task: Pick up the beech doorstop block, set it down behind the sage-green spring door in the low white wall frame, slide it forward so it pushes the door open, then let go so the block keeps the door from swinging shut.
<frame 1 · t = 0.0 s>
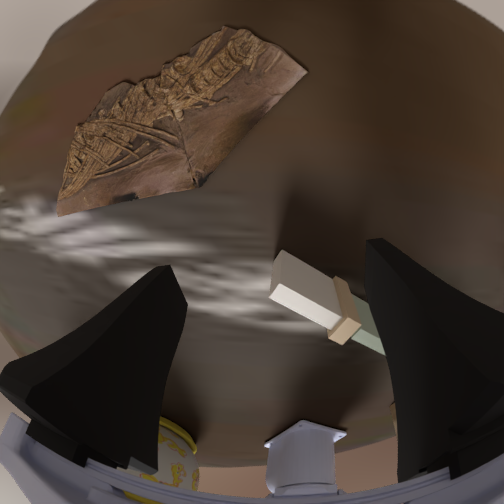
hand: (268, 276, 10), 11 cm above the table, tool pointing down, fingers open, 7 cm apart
door: (395, 334, 19), point 3 cm above the table, hinge at 0.0°
wall frame: (384, 318, 22), on the table
wooden fragment: (147, 137, 19), on the table
flowerpot: (157, 429, 36), on the table
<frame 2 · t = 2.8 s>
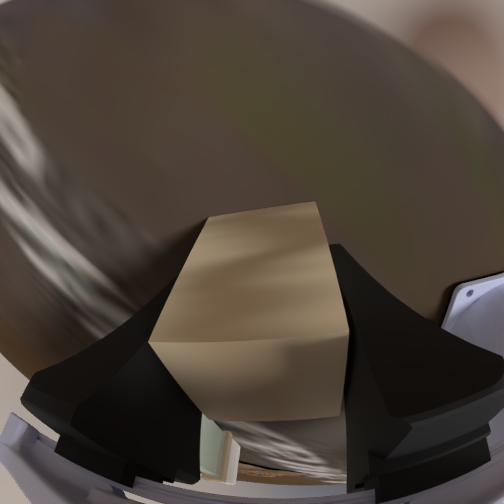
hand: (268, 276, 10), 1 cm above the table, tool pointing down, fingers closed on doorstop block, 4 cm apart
door: (190, 435, 17), point 3 cm above the table, hinge at 0.0°
wall frame: (200, 407, 19), on the table
doorstop block: (270, 254, 11), on the table, touching gripper
wooden fragment: (239, 464, 33), on the table
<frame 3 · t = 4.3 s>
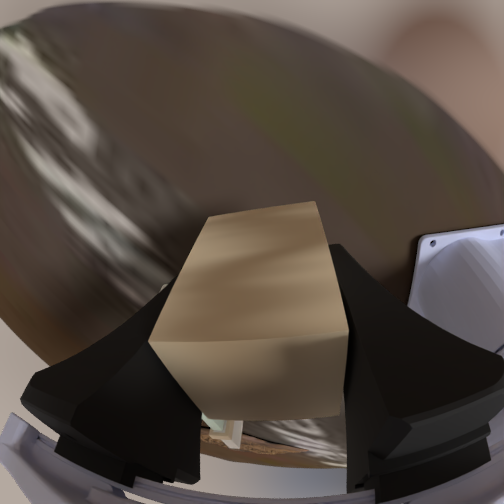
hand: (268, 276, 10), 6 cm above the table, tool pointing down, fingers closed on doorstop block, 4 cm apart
door: (201, 386, 21), point 3 cm above the table, hinge at 0.0°
wall frame: (210, 362, 24), on the table
doorstop block: (269, 254, 11), point 5 cm above the table, touching gripper
wooden fragment: (242, 438, 37), on the table
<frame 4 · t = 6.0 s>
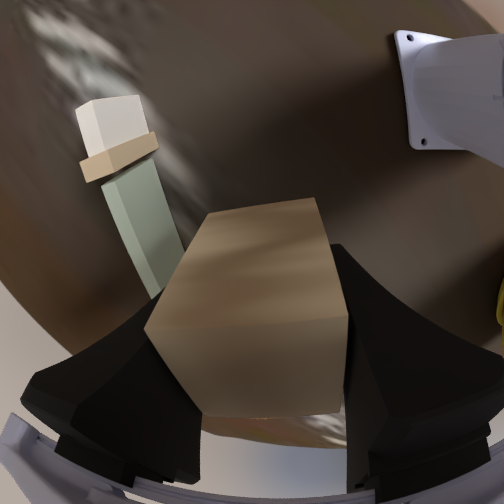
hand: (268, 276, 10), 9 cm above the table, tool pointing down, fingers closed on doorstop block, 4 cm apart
door: (152, 243, 17), point 3 cm above the table, hinge at 0.0°
wall frame: (170, 223, 19), on the table
doorstop block: (269, 251, 11), point 7 cm above the table, touching gripper
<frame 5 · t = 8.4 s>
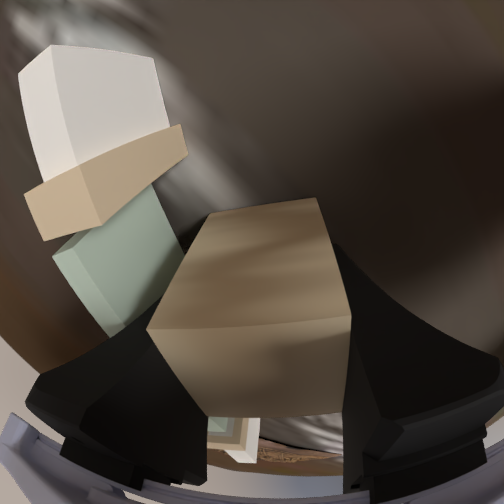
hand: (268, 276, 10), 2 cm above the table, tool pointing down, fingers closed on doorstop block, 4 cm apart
door: (168, 326, 10), point 3 cm above the table, hinge at 6.3°, touching gripper
wall frame: (203, 280, 12), on the table
doorstop block: (270, 251, 11), on the table, touching gripper
wooden fragment: (251, 443, 26), on the table
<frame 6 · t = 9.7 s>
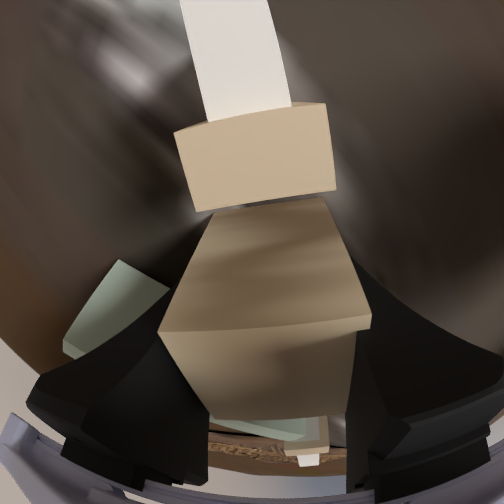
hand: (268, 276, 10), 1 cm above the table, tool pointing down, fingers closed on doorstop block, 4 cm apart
door: (197, 362, 11), point 3 cm above the table, hinge at 45.9°, touching gripper, wall frame
wall frame: (291, 275, 11), on the table
doorstop block: (275, 251, 11), on the table, touching gripper
wooden fragment: (284, 446, 25), on the table
when the fingers open (2 cm above the table, at t = 11.9 s): doorstop block drops 1 cm, on the table.
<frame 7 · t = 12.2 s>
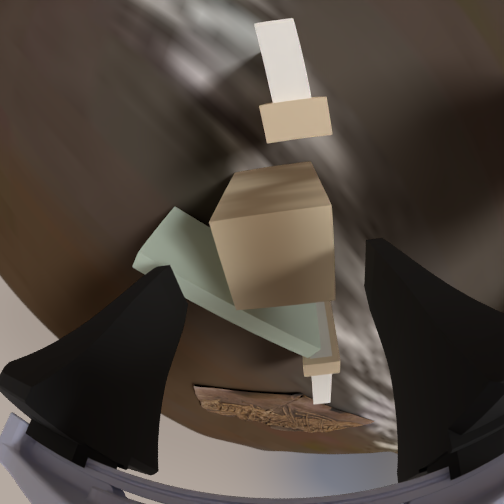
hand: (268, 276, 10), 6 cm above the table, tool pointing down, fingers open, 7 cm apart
door: (236, 285, 14), point 3 cm above the table, hinge at 45.0°
wall frame: (306, 220, 15), on the table
doorstop block: (278, 201, 15), on the table
wooden fragment: (295, 410, 29), on the table
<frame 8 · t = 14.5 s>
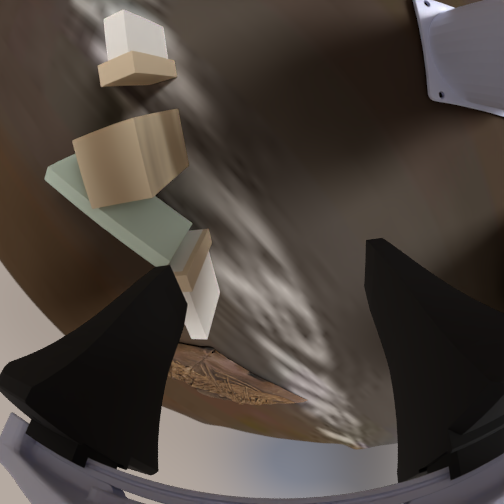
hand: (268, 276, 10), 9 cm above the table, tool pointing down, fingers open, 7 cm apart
door: (117, 204, 16), point 3 cm above the table, hinge at 42.7°
wall frame: (178, 157, 17), on the table
doorstop block: (156, 143, 17), on the table
wooden fragment: (216, 372, 31), on the table
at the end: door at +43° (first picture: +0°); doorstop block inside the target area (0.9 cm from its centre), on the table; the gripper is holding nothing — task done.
